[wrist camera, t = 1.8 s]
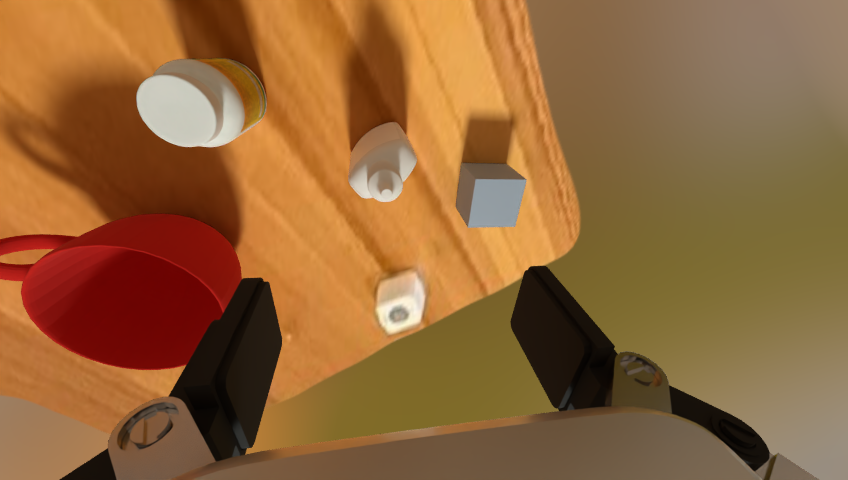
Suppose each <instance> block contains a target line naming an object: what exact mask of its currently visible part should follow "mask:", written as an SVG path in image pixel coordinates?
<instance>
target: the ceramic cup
mask: <svg viewBox="0 0 848 480" xmlns="http://www.w3.org/2000/svg"><path fill="white" fill-rule="evenodd" d="M33 249H54V250H52V251H51V252H49V253H48V254H46V255H45V256H43V257H42V258H41V259H40V260H38V261H37V262H36V263H35V264H25V265H17V264H6V263H1V262H0V279H3V280H11V281H23V284H22V289H21V295H22V300H23V305H24V307H25V309H26V311H27V313H28V315H29V317H30V319H31V320H32V321H33V322H34V323H35V324H36V326H37V327H38V328H39V329H40V330H41V331H42V332H43V333H44V334H46V335H47V336H48V337H49V338H51V339H52V340H53V341H54V342H56V343H58V344H59V345H61V346H63V347H64V348H66V349H68V350H69V351H71V352H74V353H76V354H78V355H80V356H83V357H85V358H87V359H90V360H93V361H96V362H100V363H103V364H106V365H111V366H116V367H120V368H127V369H137V370H161V369H170V368H176V367H180V366H184V365H187V363H188V362H189V360H190V358H191V356H192V355H193V353H194V351H195V349H196V348H197V346H198V344H199V342H200V341H201V339H202V337H203V335H204V334H205V332H206V330H207V328H208V327H209V325H210V324H211V322H212V321H214V320H219V319H220V318H221V316H222V314H223V313H224V311H225V309H226V307H227V305H228V303H229V302H230V300H231V298H232V296H233V294H234V292H235V291H236V289H237V287H238V285H239V283H240V281H241V280H242V277H241V267H240V263H239V260H238V257H237V254H236V252H235V251H234V249H233V247H232V246H231V244H230V243H229V242H228V241H227V240H226V238H225V237H224V236H223V235H222V234H220V233H219V232H218V231H217V230H215V229H214V228H212V227H211V226H209V225H207V224H205V223H203V222H201V221H198V220H196V219H193V218H189V217H185V216H181V215H174V214H163V213H161V214H143V215H137V216H132V217H128V218H123V219H119V220H116V221H113V222H110V223H107V224H105V225H102V226H100V227H98V228H96V229H94V230H91V231H89V232H87V233H85V234H83V235H81V236H79V237H75V236H65V235H45V234H40V235H23V236H15V237H9V238H4V239H0V256H1V255H4V254H8V253H12V252H17V251H24V250H33Z"/></svg>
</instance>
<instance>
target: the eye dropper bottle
mask: <svg viewBox="0 0 848 480" xmlns="http://www.w3.org/2000/svg"><path fill="white" fill-rule="evenodd" d="M416 162H417V157H416V154H415V152H414V149H413V147H412V145H411V143H410V141H409V139H408V137H407V136H406V134H405V133H404V131H403V130H402V128H401V127H400V125H399V124H398V123H396V122H389V123H385V124H382V125H379V126H377V127H375V128H373V129H372V130H370V131H369V132H367V133H366V134H365V135H364V136H363V137H362V138H361V139H360V140H359V141H358V142H357V144H356V145H355V147H354V148H353V150H352V152H351V157H350V166H349V175H348V181H349V183H350V185H351V186H352V188H353V189H354V190H355V191H356V192H357V194H358V195H359V196H361V197H362V198H374V199H376V200H379V201H382V202H390V201H392V200H395V199H396V198H397V197H398V196H399V195H400V194H401V191H402V189H403V188H402V187H403V182H404V181H405V179H406V178H407V177H408V176H409V174H410V173H411V172H412V170H413V168H414V167H415V164H416Z"/></svg>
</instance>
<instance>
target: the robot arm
mask: <svg viewBox="0 0 848 480" xmlns="http://www.w3.org/2000/svg"><path fill="white" fill-rule="evenodd" d="M511 328H512V330H513V332H514V334H515V336H516V338H517V340H518V341H519V343H520V345H521V347H522V349H523V351H524V353H525V355H526V357H527V359H528V360H529V362H530V364H531V366H532V368H533V370H534V372H535V374H536V375H537V377H538V379H539V381H540V383H541V385H542V387H543V388H544V390H545V392H546V394H547V396H548V398H549V400H550V402H551V403H552V405H553V406H554V407H555V408H558V409H559V411H558V412H549V413H541V414H533V415H526V416H518V417H509V418H501V419H493V420H485V421H477V422H470V423H462V424H454V425H446V426H439V427H431V428H423V429H416V430H408V431H401V432H393V433H386V434H379V435H371V436H364V437H356V438H349V439H342V440H335V441H327V442H320V443H313V444H307V445H301V446H293V447H287V448H280V449H274V450H267V451H261V452H257V453H251V454H247V455H245V453H246V449H247V448H252V447H253V445H254V442H255V439H256V435H257V432H258V428H259V425H260V421H261V418H262V414H263V411H264V407H265V404H266V400H267V397H268V393H269V389H270V386H271V382H272V379H273V375H274V372H275V368H276V365H277V361H278V358H279V354H280V351H281V346H282V336H281V332H280V327H279V323H278V319H277V314H276V310H275V306H274V301H273V297H272V293H271V288H270V284H269V282H264V281H263V279H262V278H243V279H242V280H241V281H240V283H239V285H238V287H237V289H236V291H235V292H234V294H233V296H232V298H231V300H230V302H229V303H228V305H227V307H226V309H225V311H224V313H223V314H222V316H221V318H220V319H219V320H214V321H212V322H211V324H210V325H209V327H208V328H207V330H206V332H205V334H204V335H203V337H202V339H201V341H200V342H199V344H198V346H197V348H196V349H195V351H194V353H193V355H192V356H191V358H190V360H189V362H188V363H187V365H186V367H185V369H184V370H183V372H182V374H181V376H180V377H179V379H178V381H177V383H176V384H175V386H174V388H173V390H172V391H171V393H170V395H169V397H161V398H157V399H153V400H151V401H149V402H146V403H144V404H142V405H140V406H139V407H137V408H136V409H134V410H133V411H131V412H129V413H128V414H127V415H126V416H125V417H124V418H123V419H122V420H121V421H120V422H119V423H118V424H117V426H116V427H115V428H114V430H113V431H112V433H111V435H110V438H109V440H108V448H107V449H106V450H105V451H103V452H101V453H100V454H99V455H97V456H95V457H94V458H92V459H91V460H90V461H88V462H86V463H84V464H83V465H81V466H80V467H78V468H77V469H75V470H74V471H72V472H71V473H69V474H68V475H66V476H65V477H63V478H62V479H60V480H819V479H817V478H816V477H814V476H813V475H811V474H810V473H808V472H807V471H805V470H804V469H802V468H800V467H799V466H797V465H796V464H794V463H793V462H791V461H790V460H788V459H787V458H785V457H784V456H782V455H780V454H779V453H777V454H776V455H772V454H771V453H770V452H769V450H768V448H767V445H766V444H765V442H764V441H763V440H762V438H761V437H760V436H759V435H758V434H757V433H756V432H755V431H754V430H753V429H752V428H751V427H750V426H748V425H747V424H745V423H744V422H743V421H742V420H740V419H738V418H736V417H734V416H733V415H731V414H729V413H727V412H724V411H722V410H720V409H718V408H716V407H714V406H712V405H709V404H708V403H705V402H703V401H701V400H699V399H697V398H695V397H693V396H691V395H689V394H686V393H684V392H682V391H680V390H678V389H676V388H674V387H672V386H669V382H668V379H667V376H666V374H665V373H664V372H663V370H662V369H661V368H660V367H659V366H658V365H657V364H656V363H654V362H653V361H651V360H650V359H649V358H647V357H645V356H643V355H640V354H637V353H634V352H620V353H619V354H617V353H616V351H615V350H614V347H615V346H614V345H613V344H612V342H611V341H610V340H609V339H608V338H607V337H606V335H605V334H604V333H603V332H602V331H601V329H600V328H599V327H598V326H597V325H596V324H595V322H594V321H593V320H592V319H591V318H590V317H589V315H588V314H587V313H586V312H585V311H584V310H583V308H582V307H581V306H580V305H579V304H578V303H577V302H576V300H575V299H574V298H573V297H572V296H571V294H570V293H569V292H568V291H567V290H566V289H565V287H564V286H563V285H562V284H561V283H560V282H559V280H558V279H557V278H556V277H555V276H554V275H553V273H552V272H551V271H550V270H549V269H548V268H547V267H546V266H531V267H529V269H528V270H526V271H525V272H524V275H523V279H522V283H521V286H520V290H519V293H518V297H517V300H516V304H515V307H514V311H513V314H512V318H511Z"/></svg>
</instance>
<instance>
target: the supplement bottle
mask: <svg viewBox="0 0 848 480" xmlns="http://www.w3.org/2000/svg"><path fill="white" fill-rule="evenodd" d="M136 101H137V108H138V111H139V114H140V115H141V117H142V119H143V121H144V122H145V123H146V125H147V126H148V127H149V128H150V129H151V130H152V131H153V132H154V133H155V134H156V135H158V136H159V137H160V138H162V139H164V140H165V141H167V142H169V143H172V144H175V145H178V146H183V147H196V146H202V147H218V146H222V145H225V144H227V143H229V142H231V141H233V140H234V139H236V138H237V137H238V136H240V135H241V134H243V133H244V132H246V131H247V130H249V129H250V128H252V127H254V126H255V125H256V124H257V123H259V122H260V121H261V119H262V118H263V116H264V114H265V112H266V105H267V100H266V93H265V90H264V87H263V85H262V83H261V82H260V80H259V79H258V77H257V76H256V75H255V74H254V73H253V72H252V71H251V70H250V69H249V68H248V67H246V66H245V65H243V64H241V63H239V62H237V61H234V60H231V59H225V58H202V59H178V60H173V61H170V62H167V63H165V64H164V65H162V66H161V67H159V68H158V69H157V70H156V71H155V73H154V74H153V76H151V77H149V78H147V79H146V80H144V81H143V82H142V83H141V85H140V86H139V88H138V91H137V96H136Z"/></svg>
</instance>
